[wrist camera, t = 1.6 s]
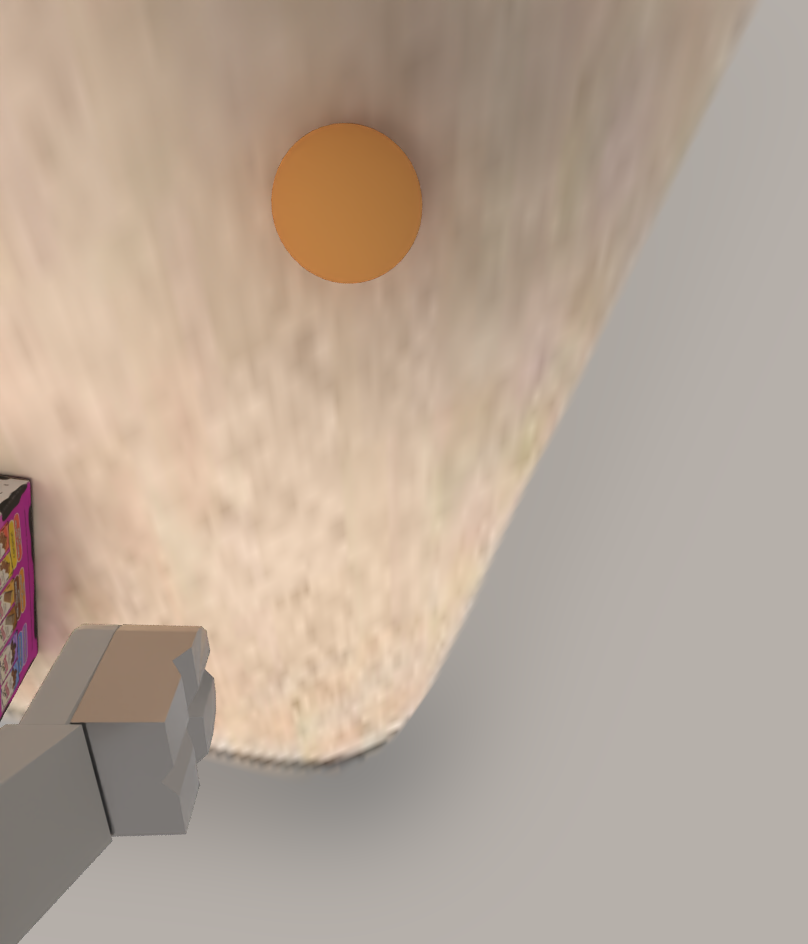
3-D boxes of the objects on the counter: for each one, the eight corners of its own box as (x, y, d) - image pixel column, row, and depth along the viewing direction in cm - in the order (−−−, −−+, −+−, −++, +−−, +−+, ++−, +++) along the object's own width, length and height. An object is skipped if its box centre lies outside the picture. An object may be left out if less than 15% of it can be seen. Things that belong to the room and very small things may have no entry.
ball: (295, 276, 30) (286, 312, 25) (262, 133, 28) (245, 144, 23) (424, 253, 30) (439, 285, 25) (404, 107, 28) (416, 112, 23)
